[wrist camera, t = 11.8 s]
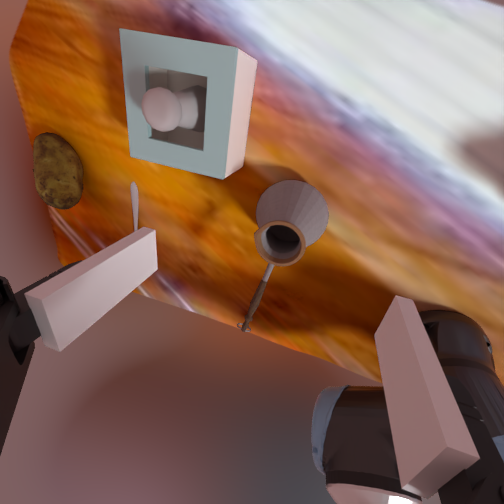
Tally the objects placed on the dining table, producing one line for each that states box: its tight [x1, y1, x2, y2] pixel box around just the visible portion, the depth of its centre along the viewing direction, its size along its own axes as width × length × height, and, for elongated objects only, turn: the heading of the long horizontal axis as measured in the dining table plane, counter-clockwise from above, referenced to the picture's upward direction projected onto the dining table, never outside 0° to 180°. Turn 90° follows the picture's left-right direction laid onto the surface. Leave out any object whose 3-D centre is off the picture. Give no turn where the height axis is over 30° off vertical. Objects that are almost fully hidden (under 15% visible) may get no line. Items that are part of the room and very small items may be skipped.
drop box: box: [119, 28, 258, 179], centre depth 35 cm, size 14×14×9 cm
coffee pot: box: [237, 180, 329, 332], centre depth 39 cm, size 21×12×15 cm, turn 163°
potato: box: [33, 132, 83, 209], centre depth 47 cm, size 8×13×8 cm, turn 172°
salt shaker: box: [141, 85, 207, 132], centre depth 33 cm, size 6×6×13 cm
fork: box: [131, 182, 138, 232], centre depth 53 cm, size 3×24×2 cm, turn 172°
